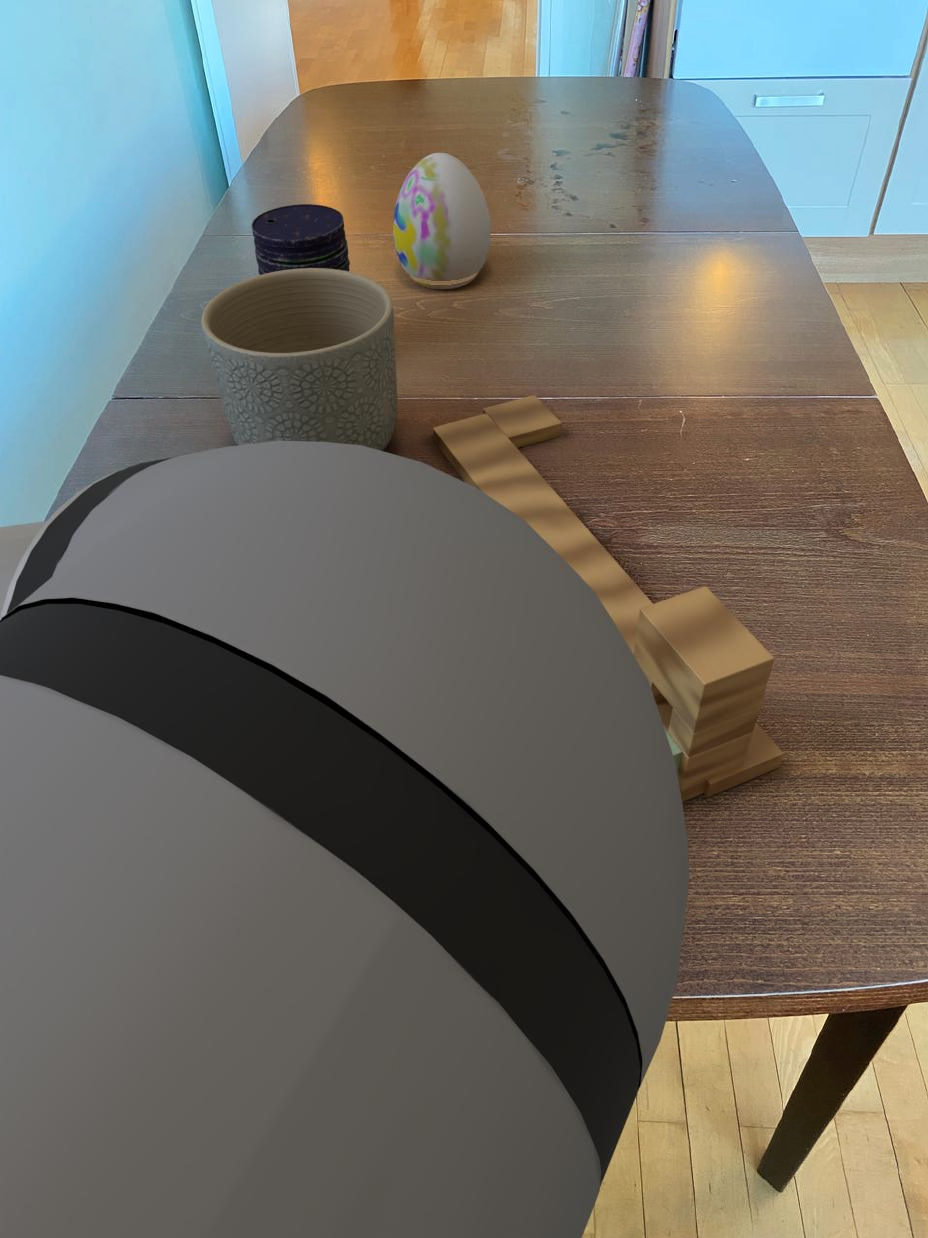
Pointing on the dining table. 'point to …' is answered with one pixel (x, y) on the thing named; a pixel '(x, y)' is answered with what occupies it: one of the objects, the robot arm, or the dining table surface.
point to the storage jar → (300, 239)
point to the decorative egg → (441, 222)
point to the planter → (305, 357)
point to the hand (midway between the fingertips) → (339, 735)
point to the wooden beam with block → (635, 608)
